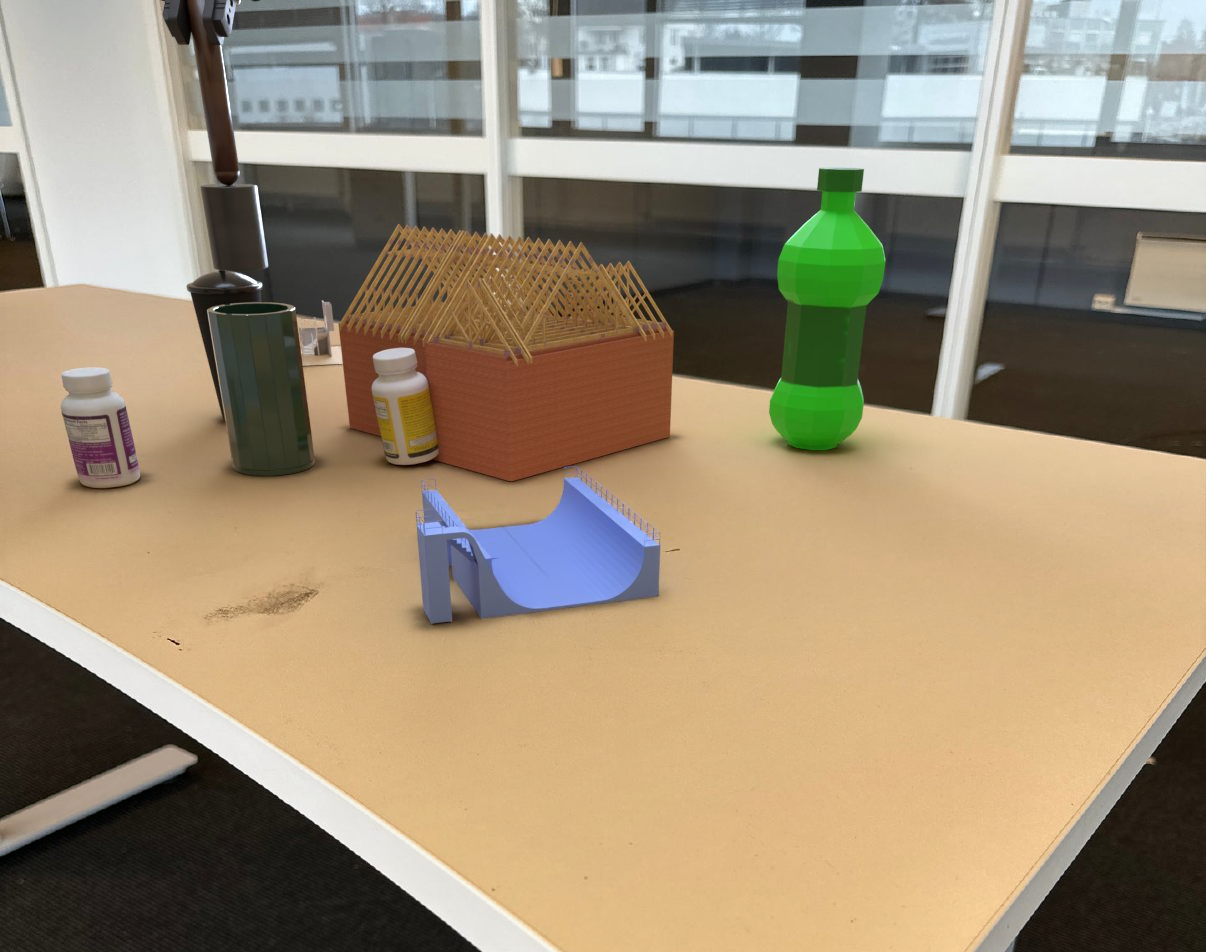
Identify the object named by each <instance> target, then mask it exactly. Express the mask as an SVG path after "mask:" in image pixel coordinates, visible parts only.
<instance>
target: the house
mask: <svg viewBox="0 0 1206 952" xmlns="http://www.w3.org/2000/svg"><path fill="white" fill-rule="evenodd" d="M399 233H400V236H399V237H398V239H397V241H396V243H394V241H395V239H396V238H397V236H398V234H399ZM443 238H444V239H443ZM404 240H406V241H405V242H404V244H403V246H402V248H401V249H400V250H399V248H400V246H401V245H402V243H403V241H404ZM476 241H477V242H478V243H477V242H476ZM393 243H394V245H393ZM448 244H449V245H448ZM392 245H393V247H392ZM509 245H510V246H511V247H510V246H509ZM409 246H411V248H410V249H408V248H409ZM519 246H520V247H521V248H520V247H519ZM391 247H392V248H391ZM489 247H490V248H489ZM390 248H391V251H389V250H390ZM529 248H530V249H529ZM538 248H540V250H541V251H539V249H538ZM549 249H550V251H551V253H550V252H549ZM559 250H560V251H561V253H562V254H560V252H559ZM570 251H571V253H572V255H571V254H570V253H569V252H570ZM470 252H471V253H470ZM494 253H495V254H494ZM515 253H516V254H517V255H516V254H515ZM581 253H582V254H583V256H584V257H585V259H586V260H587V262H588V263H589V264H590V267H591V268H589V266H588V265H587V263H586V262H585V261H584V258H583V257H582V256H581ZM525 254H526V255H525ZM386 255H388V256H387V257H386ZM395 256H396V258H395V259H394V261H393V263H392V264H391V266H390V268H389V270H388V271H387V273H386V275H385V276H384V278H383V279H382V277H383V275H384V273H385V272H386V270H387V268H388V266H389V265H390V263H391V261H392V260H393V258H394V257H395ZM526 256H527V257H526ZM535 256H536V257H537V258H536V257H535ZM385 257H386V259H385V261H384V263H383V264H382V262H383V259H384V258H385ZM404 257H405V258H404ZM544 257H546V258H547V260H546V259H545V258H544ZM402 258H404V259H403V261H402V263H401V265H400V266H399V268H398V269H397V271H396V273H395V275H394V276H393V278H392V280H391V282H390V284H389V285H388V286H387V284H388V282H389V280H390V279H391V277H392V275H393V273H394V272H395V270H396V268H397V267H398V265H399V263H400V261H401V260H402ZM412 258H413V259H412ZM555 258H556V259H557V262H556V260H555ZM411 259H412V262H411V263H410V265H409V267H408V269H407V270H406V272H405V274H404V275H403V277H402V279H401V280H400V282H399V284H398V286H397V287H396V289H395V290H394V292H393V289H394V287H395V285H396V284H397V282H398V280H399V279H400V277H401V275H402V274H403V272H404V271H405V268H406V267H407V265H408V263H409V261H410V260H411ZM421 259H422V260H421ZM420 260H421V262H420V264H419V266H418V268H417V269H416V270H415V273H414V274H413V276H412V278H411V279H410V281H409V282H408V279H409V278H410V276H411V274H412V272H413V271H414V269H415V267H416V265H417V264H418V262H419V261H420ZM565 260H567V261H568V263H567V262H566V261H565ZM521 261H522V262H521ZM576 261H577V262H578V263H579V265H580V266H581V267H582V268H581V269H580V268H579V266H578V264H577V263H576ZM531 262H532V263H531ZM381 264H382V266H381V268H380V270H379V271H378V273H377V274H376V271H377V270H378V268H379V266H380V265H381ZM425 266H428V267H427V269H426V270H425V272H424V274H423V275H422V277H421V279H420V280H419V282H418V284H417V285H416V287H415V289H414V291H413V292H412V294H411V296H410V292H411V290H412V289H413V287H414V285H415V283H416V282H417V280H418V278H419V276H420V275H421V273H422V272H423V270H424V268H425ZM476 270H477V271H476ZM484 270H485V271H486V272H485V271H484ZM630 271H631V273H632V275H633V277H634V278H635V280H636V281H637V284H639V286H640V288H641V289H642V291H643V293H644V294H643V295H641V293H640V291H639V290H638V289H637V287H636V285H635V284H634V282H633V280H632V279H631V277H630ZM431 273H433V275H432V277H431V278H430V280H429V281H428V283H427V285H426V287H425V289H424V290H423V292H422V294H421V295H420V297H419V293H420V291H421V289H422V288H423V286H424V285H425V283H426V282H427V279H428V277H429V276H430V274H431ZM538 273H539V274H538ZM375 274H376V276H375ZM374 276H375V278H374V279H373V277H374ZM558 276H559V277H558ZM622 276H624V277H625V280H626V285H625V283H624V282H623V280H622ZM533 277H534V278H535V279H534V278H533ZM597 277H598V279H597ZM613 277H614V279H613ZM588 278H589V279H588ZM372 279H373V281H372V283H371V285H370V287H369V288H368V285H369V284H370V282H371V280H372ZM381 279H382V282H381V283H380V285H379V286H378V288H377V290H376V287H377V285H378V283H379V282H380V280H381ZM543 279H544V280H545V282H544V281H543ZM553 281H554V282H553ZM407 282H408V285H407V286H406V288H405V290H404V292H403V293H402V294H401V291H402V289H403V288H404V286H405V284H406V283H407ZM554 283H555V284H554ZM563 283H564V284H565V285H566V287H567V289H566V288H565V286H564V285H563ZM616 283H617V285H616ZM441 284H443V287H442V285H441ZM539 285H540V287H539ZM582 285H583V286H582ZM386 286H387V288H386V290H385V287H386ZM574 286H575V287H576V288H575V287H574ZM630 287H631V288H632V290H633V292H634V294H635V295H634V296H632V295H631V293H630ZM541 288H542V289H541ZM621 288H622V290H623V292H624V294H625V295H626V296H625V298H624V297H623V295H622V294H621ZM550 289H551V290H552V291H551V290H550ZM604 289H605V291H604ZM384 290H385V291H384ZM559 290H560V291H561V292H562V294H563V295H564V296H563V295H562V294H561V292H560V291H559ZM587 290H588V292H587ZM596 290H597V291H596ZM437 291H438V295H437V297H436V299H435V300H434V296H435V294H436V293H437ZM578 291H579V292H578ZM363 294H364V296H363V298H362V300H361V302H360V304H359V305H358V306H357V304H358V303H359V301H360V299H361V297H362V295H363ZM372 294H373V295H372ZM445 294H446V295H447V296H446V299H445V300H444V302H443V297H444V296H445ZM371 295H372V296H373V297H372V298H371V300H370V302H369V299H370V297H371ZM380 295H381V298H380V300H379V302H377V301H378V299H379V297H380ZM582 297H583V299H582ZM388 298H389V301H388V302H387V304H386V301H387V299H388ZM397 298H398V302H397V303H396V305H395V307H394V303H395V301H396V299H397ZM637 298H638V302H636V300H637ZM645 298H647V299H648V301H649V302H650V304H651V306H652V307H653V309H654V310H655V312H656V313H657V316H658V317H659V319H660V320H661V321H658V320H657V319H656V318H655V316H654V314H653V313H652V311H651V310H650V308H649V306H648V304H647V303H646V302H645ZM520 299H521V300H522V301H521V300H520ZM405 301H407V302H406V304H405V306H404V307H403V304H404V303H405ZM414 301H415V305H414V306H412V305H413V303H414ZM559 301H560V302H559ZM509 302H510V303H509ZM561 304H562V305H563V307H564V308H563V307H562V305H561ZM365 305H366V309H365V310H364V312H362V311H363V309H364V308H365ZM553 305H554V306H553ZM640 305H642V306H643V309H644V310H645V311H646V312H647V315H648V316H649V318H650V319H651V320H647V318H646V317H645V316H644V314H643V312H642V311H641V309H640V307H639V306H640ZM356 306H357V309H356V310H355V312H354V313H353V314H352V312H353V310H354V309H355V308H356ZM631 306H633V309H632V310H631V308H630V307H631ZM373 307H374V310H373ZM526 307H527V308H528V309H527V308H526ZM598 307H599V308H598ZM381 309H382V310H381ZM581 309H582V310H581ZM372 310H373V311H372ZM361 312H362V313H361ZM635 312H637V315H639V317H640V318H636V317H635V315H634V313H635ZM560 314H561V316H560ZM612 314H613V315H612ZM338 333H339V342H340V346H341V352H342V361H343V364H342V369H343V378H344V387H345V396H346V407H347V413H348V414H347V415H348V424H349V428H350V429H353V430H356V431H360V432H364V433H368V434H371V435H375V436H378V437H381V433H380V429H379V424H378V419H377V414H376V409H375V404H374V400H373V395H372V384H373V382H374V381H375V380H376V379H377V378H378V377H379V374H378V373H376V371H375V368H374V362H373V355H374V354H376V353H378V352H380V351H383V350H387V349H394V348H411V349H414V350H415V354H416V359H417V367H416V368H415V369H416V372H419V373H421V374H423V375H424V376H425V377H426V379H427V381H428V385H429V390H430V396H431V402H432V408H433V415H434V421H435V428H436V435H437V442H438V450H439V453H438V455H437V456H436V457H435V458H433V459H432V460H433V461H436V462H440V463H444V464H447V465H450V466H455V467H457V468H461V469H464V470H469V471H472V472H475V473H479V474H483V475H486V476H489V477H493V478H498V479H501V480H504V481H507V482H514V481H518V480H522V479H525V478H528V477H529V478H530V477H532V476H536V475H539V474H543V473H546V472H550V471H553V470H557V469H560V468H564V467H569V466H571V465H574V464H578V463H581V462H585V461H589V460H593V459H596V458H599V457H603V456H607V455H610V454H614V453H618V452H620V451H624V450H628V449H631V448H635V447H638V446H642V445H646V444H648V443H652V442H656V441H660V440H664V439H666V438H670V437H671V417H672V396H673V395H672V392H673V391H672V390H673V368H674V367H673V365H674V364H673V363H674V341H675V340H674V338H675V331H674V330H672V328H671V327H670V325H669V323H668V322H667V320H666V318H665V317H664V315H663V314H662V311H661V310H660V309H659V307H658V305H657V304H656V302H655V301H654V298H652V295H651V294H650V293H649V291H648V289H647V288H646V286H645V284H644V283H643V281H642V279H641V278H640V276H639V275H638V273H637V271H636V270H635V267H633V265H632V263H631V262H630V260H627V261H626V263H625V264H624V265H623V264H622V263H621V262H620V261H618V263H617V264H616V265H615V266H614V265H613V264H612V262H610V263H609V264H608V265H607V266H606V268H605V266H604V264H603V263H600V264H599V265H598V264H597V263H596V262H595V261H594V259H593V257H592V255H591V254H590V252H589V250H588V249H587V248H586V246H585V245H584V244H583V242H582V241H580V242H579V244H578V246H577V247H575V245H574V243H573V242H572V241H571V240H570V241H569V242H568V244H567V245H566V247H565V245H564V244H563V242H562V241H561V239H558V241H557V243H556V245H554V244H553V242H552V240H551V239H550V238H548V239H547V241H546V242H545V244H544V243H543V241H542V240H541V238H540V237H538V238H537V239H536V241H535V243H534V241H532V239H531V238H530V236H528V237H526V239H525V241H524V239H522V237H521V236H520V235H518V237H517V238H516V240H514V239H513V237H512V236H511V235H510V234H508V236H507V237H506V238H505V239H504V238H503V236H502V235H501V233H498V235H497V237H496V236H494V234H493V233H492V232H490V233H489V235H488V233H487V232H484V234H483V235H482V237H481V236H480V234H479V233H478V232H477V231H474V233H473V235H472V236H471V234H470V232H469V231H468V230H464V229H463V230H461V229H459V230H458V231H457V233H456V234H455V232H454V231H453V229H452V228H450V229H449V231H448V232H446V231H445V230H444V229H443V228H442V227H441V229H440V230H439V232H438V231H437V230H436V229H435V227H431V229H430V231H429V230H428V229H427V227H426V226H423V227H422V229H421V230H420V229H419V228H418V226H417V225H414V227H413V229H412V228H411V227H410V226H409V225H408V224H406V225H405V227H404V228H403V226H401V224H399V223H398V224H397V226H396V227H395V229H394V230H393V232H392V234H391V236H390V237H389V238H388V241H387V242H386V243H385V246H384V247H383V249H382V251H381V252H380V254H379V256H378V257H377V260H376V261H375V263H374V265H373V266H372V268H371V270H370V271H369V273H368V275H367V276H366V278H365V280H364V281H363V283H362V285H361V286H360V288H359V290H358V291H357V293H356V295H355V296H354V299H353V300H352V301H351V303H350V305H349V307H348V308H347V310H346V312H345V314H344V315H343V317H342V319H341V320H340V322H338Z"/></svg>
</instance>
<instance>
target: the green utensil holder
mask: <svg viewBox="0 0 1206 952" xmlns="http://www.w3.org/2000/svg"><path fill="white" fill-rule="evenodd" d="M296 309H297V308H296V307H295V306H294V305H292V304H287V303H283V302H282V303H281V302H265V301H264V302H262V301H261V302H256V303H255V302H252V303H234V304H225V305H219V306H214V307H211V308H209V309H207V313H208V319H209V325H210V331H211V337H212V343H213V349H214V355H215V361H216V367H217V373H218V379H219V385H220V391H221V397H222V403H223V409H224V415H225V421H224V422H225V427H226V433H227V439H228V445H229V451H230V457H231V462H232V467H233V470H234V471H236V472H237V473H239V474H244V475H248V476H258V477H276V476H285V475H292V474H296V473H299V472H304V471H307V470H309V469H310V468H312V467H314V465H315V451H314V444H313V443H314V442H313V436H312V427H311V420H310V419H311V418H310V412H309V404H308V396H307V389H306V380H305V371H304V366H303V364H302V356H301V342H300V334H299V326H298V325H299V324H298V318H297V310H296Z"/></svg>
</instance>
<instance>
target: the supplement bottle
mask: <svg viewBox="0 0 1206 952" xmlns="http://www.w3.org/2000/svg"><path fill="white" fill-rule="evenodd" d="M373 362H374V368H375V371H376V373H378V374H379V377H378V378H377V379H376V380H375V381H374V382H373V384H372V395H373V400H374V404H375V409H376V414H377V419H378V424H379V429H380V433H381V436H380V438H381V442H382V449H383V453H384V456H385V459H386V460H387V462H389V463H391V464H392V465H397V466H398V465H399V466H409V465H416V464H422V463H426V462H429V461H431V460H433V458H435V457H436V456H437V455H438V453H439V450H438V442H437V435H436V428H435V421H434V415H433V408H432V402H431V396H430V390H429V385H428V381H427V379H426V377H425V376H424V375H423V374H421V373H419V372H416V369H415V368H416V367H417V359H416V354H415V350H414V349H411V348H394V349H387V350H383V351H380V352H378V353H376V354H374V355H373Z"/></svg>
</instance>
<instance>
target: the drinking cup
mask: <svg viewBox="0 0 1206 952" xmlns="http://www.w3.org/2000/svg"><path fill="white" fill-rule="evenodd" d="M263 285H264V284H263V282H261V281H258V280H255V279H254V278H252V277H250V276H248V275H247V274H244V273H241V272H238V271H222V270H216V271H211V272H208V273H205V274H203V275H200V276H198V277H197V278H195V279H194V280H193V281H192V282H189V283H187V284H186V290H187V292H188V293H189V294H190V296H191V300H192V305H193V309H194V312H195V316H196V321H197V324H198V327H199V328H198V329H199V331H200V335H201V338H202V339H201V340H202V343H203V347H204V351H205V355H206V358H207V359H206V360H207V363H208V366H209V370H210V374H211V378H212V383H213V386H214V390H215V394H216V398H217V401H218V405H219V409H220V413H221V417H222V420H223V422H226V421H225V415H224V409H223V403H222V397H221V391H220V385H219V379H218V373H217V367H216V361H215V355H214V349H213V343H212V337H211V331H210V325H209V319H208V313H207V309H209V308H211V307H214V306H219V305H225V304H234V303H252V302H255V303H256V302H262V292H261V290H263V288H264V286H263Z"/></svg>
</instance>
